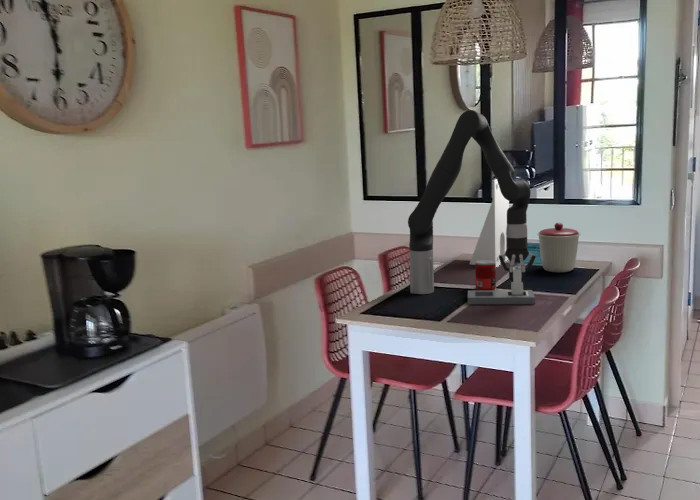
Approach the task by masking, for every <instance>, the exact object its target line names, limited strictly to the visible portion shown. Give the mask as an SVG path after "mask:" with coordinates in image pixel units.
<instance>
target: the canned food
mask: <svg viewBox="0 0 700 500" xmlns="http://www.w3.org/2000/svg"><path fill="white" fill-rule="evenodd" d="M474 266H475V267H474V268H475V269H474V270H475V288H476V290H495V289H496V287H497V278H496V277H497V274H496V273H497V270H496V269H497V268H496V263H495V261H493V260H479V261H476V263H475V265H474Z"/></svg>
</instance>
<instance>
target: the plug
mask: <svg viewBox="0 0 700 500" xmlns="http://www.w3.org/2000/svg"><path fill="white" fill-rule="evenodd" d="M521 278H522V274H521V266H519V265H514V267H513V282H511V281H510V282H511V283H510V290H511V292H512V295H523V290H524V281H523V282H521Z"/></svg>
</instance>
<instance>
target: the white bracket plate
mask: <svg viewBox="0 0 700 500" xmlns="http://www.w3.org/2000/svg"><path fill="white" fill-rule="evenodd" d="M491 181H492V185H491V186H492V200H491V204H490V207H489V209H488V212H487V215H486V217H485V220H484V223H483V226H482V229H481V232H480V234H479V237H478V240H477V243H476V245H475V247H474V251H473V254H472V256H471V259H470V261H469V265H473V266H475V263H476V261H479V260H493V261H495V263H496V267H497V268H499V267H500V266H501V262H500V259H499V255H502V254H505V252H506V227H507V210H508V208H510V201H508V200H507V199H505V198H504V197H503V195H502V193H501V191H500V188H499V185H498V181H497V178H496V179H492V180H491ZM507 260H508V258H507V256H505V260H504V261H507ZM508 261H509V260H508ZM508 261H507V262H508ZM499 265H500V266H499Z"/></svg>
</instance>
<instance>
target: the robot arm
mask: <svg viewBox="0 0 700 500" xmlns="http://www.w3.org/2000/svg"><path fill="white" fill-rule="evenodd" d="M489 125H490V124H489V123H488V120H487V118H486V117H485V116H484V115H483V114H482V113H480V112H477V111H476V110H474V109H473V110H472V109H468V110H465V111H464V112H462V113H461V114H460V116H459V117H458V119H457V120H456V124H455V126H454V128H453V131H452V133H451V136H450V138H449V140H448V142H447V144H446V146H445V149H444V150H443V152H442V154H441V156H440V158H439V160H438V161H437V164H436V165H435V166H434V168H433V171H432V173H431V175H430V177H429V179H428V182H427V183H426V184H427V185H426V187H425V190H424V192H423V194H422V196H421V198H420V200H419V202H418V203H417V205H416V206H415V208H414V209H413V211H412V212H411V214H410V215H409V216H408V217H407V218H408V219H407V226H408V228H409V289H410V294H415V295H416V294H417V295H427V294H428V295H429V294H432V293H434V292H435V284H434V283H435V281H434V280H435V279H434V271H435V270H434V221H433V220H434V218H435V215H436V213H437V210H438V209H439V207H440V205H441V204H442V202H443V200H444V199H445V198H446V196H447V195H448V194H449V192H450V191H451V189H452V187H453V186H454V183H455V182H456V180H457V179H458V176H459V174H460V172H461V171H462V169H461V168H462V165H463V159H464V158H463V157H464V153H465V150H466V148H467V146H468V143H469V142H470V141H471V138H472V139H473V140H474V141H475V142H476V143H477V144H478V145H479V147H480V149H481V150H482V152H483V155H484V158H485V160H486V163H487V165H488V167H489V169H490V171H491V172H492V174H493V175H494V177H495V178H496V179H497V181H498V185H499V188H500V191H501V193H502V195H503V197H504V198H505V199H507V200H508V201H509V202H512V206H509V208H508V210H507V227H506V252H505V254H502V255H499V259H500V261H501V262H500V264H501V265H502V267H503V269H504V271H506V272H508V279H509V281H510V282H513V267H515V264H516V263H517V264H520V267H521V274H522V278H521V282H523V283H524V281H526V272H527V271H530V270H531V269H532V266H533V264H534V262H535V259H536V255H535V254H532V253H531V252H529V250H528V249H529V248H528V224H527V221H528V220H527V217H528V216H527V211H528V207H529V204H530V199H531V187H530V185H529V183H528V182H527V181H525V180H523V179H522V180H521V179H520V180H515V181H514V179H513V176H514V175H515V169H514V166H513V165H512V164H511V162H510V161H509V159H508V158H507V156H506V154H505V153H504V151H503V150H502V149H501V147H500V145H499V144H498V142H497V140H496V138H495V136H494V135H493V132H492V130H491V127H490V126H489ZM505 256H507V258H508V259H509V260H508V261H509V267H508V266H507V264H506V262H505V261H504V260H505ZM527 258H528V260H529V261H528V262H527V265H526V266H525V263H524V262H525V261H526V259H527Z"/></svg>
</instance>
